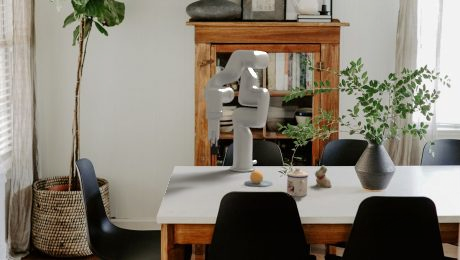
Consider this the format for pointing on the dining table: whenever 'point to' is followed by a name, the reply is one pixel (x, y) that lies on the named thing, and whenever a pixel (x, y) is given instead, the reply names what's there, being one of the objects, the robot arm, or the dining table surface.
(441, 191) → the dining table surface
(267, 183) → the disc
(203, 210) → the dining table surface
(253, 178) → the ball
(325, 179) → the chocolate bunny
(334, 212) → the dining table surface
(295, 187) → the teacup with lid
